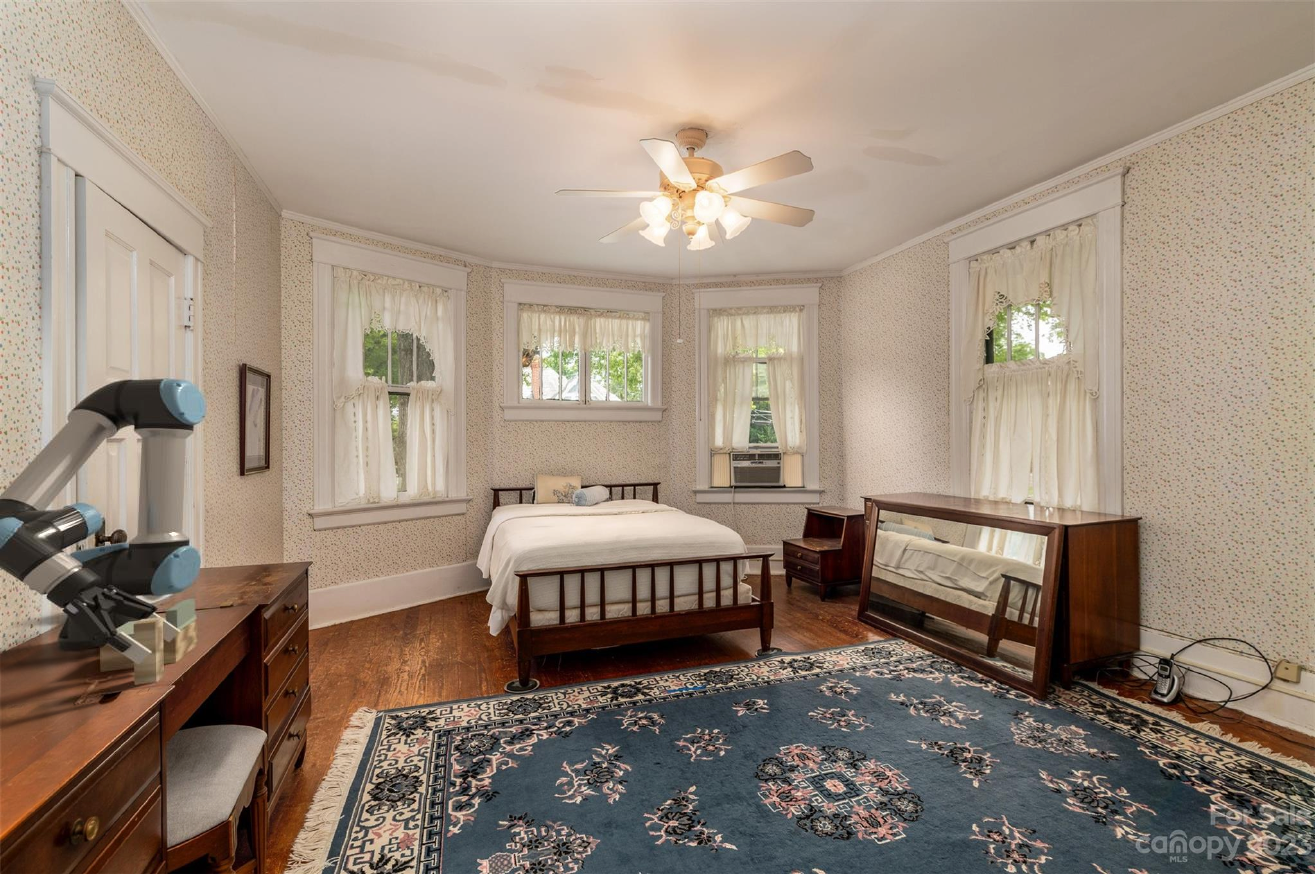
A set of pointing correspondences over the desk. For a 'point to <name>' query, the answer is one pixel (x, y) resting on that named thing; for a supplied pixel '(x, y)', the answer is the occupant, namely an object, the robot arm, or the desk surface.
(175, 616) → the lid
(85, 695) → the key
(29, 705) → the desk surface
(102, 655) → the light wooden box
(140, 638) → the block
